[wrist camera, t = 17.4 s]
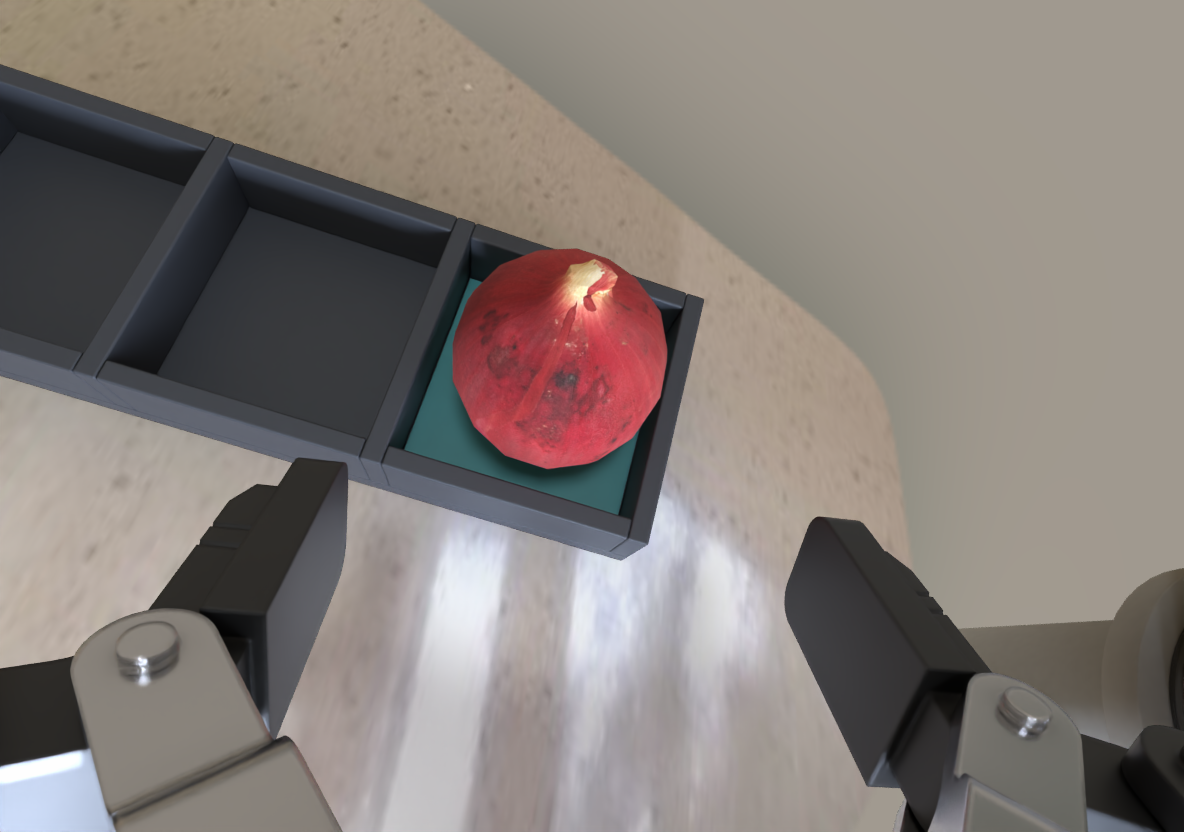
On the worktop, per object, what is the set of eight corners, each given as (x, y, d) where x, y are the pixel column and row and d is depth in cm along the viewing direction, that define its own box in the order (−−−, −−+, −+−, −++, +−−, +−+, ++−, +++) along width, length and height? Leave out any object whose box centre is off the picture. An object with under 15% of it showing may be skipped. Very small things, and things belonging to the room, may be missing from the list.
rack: (674, 342, 25) (705, 298, 22) (622, 561, 22) (648, 545, 19) (24, 129, 23) (-43, 49, 20) (-131, 336, 20) (-238, 279, 17)
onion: (608, 515, 21) (688, 440, 14) (428, 463, 21) (411, 357, 13) (647, 354, 23) (734, 213, 16) (484, 303, 23) (496, 134, 15)
